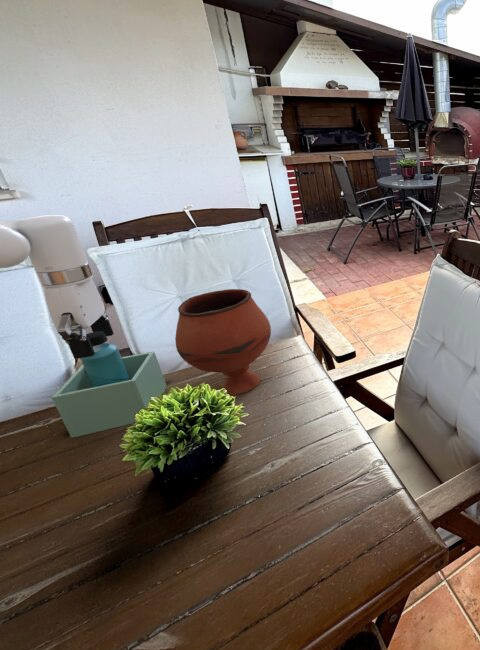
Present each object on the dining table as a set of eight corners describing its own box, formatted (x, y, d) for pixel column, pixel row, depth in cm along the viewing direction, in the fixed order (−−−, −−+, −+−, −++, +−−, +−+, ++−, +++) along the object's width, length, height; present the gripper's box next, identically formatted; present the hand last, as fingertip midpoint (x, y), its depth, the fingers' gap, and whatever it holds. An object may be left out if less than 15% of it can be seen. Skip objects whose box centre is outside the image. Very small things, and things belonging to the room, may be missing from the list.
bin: (71, 438, 87) (51, 397, 83) (98, 401, 99) (82, 364, 95) (150, 419, 93) (134, 380, 89) (167, 386, 104) (154, 351, 100)
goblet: (183, 390, 103) (153, 302, 94) (263, 357, 117) (243, 278, 108) (211, 421, 92) (179, 326, 83) (294, 381, 106) (275, 296, 98)
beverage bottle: (136, 395, 100) (107, 324, 93) (144, 405, 96) (115, 332, 89) (100, 409, 95) (67, 335, 88) (107, 421, 91) (73, 345, 84)
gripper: (63, 265, 89) (91, 332, 95) (15, 292, 75) (51, 370, 81) (107, 260, 92) (131, 326, 98) (69, 286, 78) (100, 361, 84)
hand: (95, 346), depth 89 cm, fingers open, 9 cm apart
